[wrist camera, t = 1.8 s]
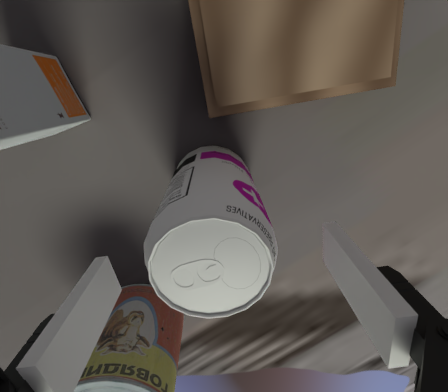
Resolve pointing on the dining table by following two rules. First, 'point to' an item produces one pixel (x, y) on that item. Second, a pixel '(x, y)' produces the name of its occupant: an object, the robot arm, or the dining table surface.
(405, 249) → the dining table surface
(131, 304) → the canned food
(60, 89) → the skincare box
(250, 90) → the tray
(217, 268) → the supplement can
